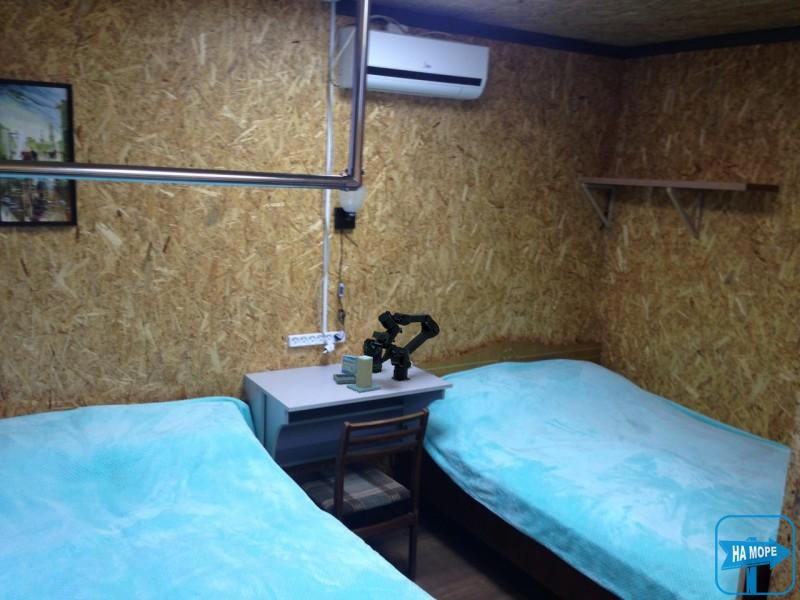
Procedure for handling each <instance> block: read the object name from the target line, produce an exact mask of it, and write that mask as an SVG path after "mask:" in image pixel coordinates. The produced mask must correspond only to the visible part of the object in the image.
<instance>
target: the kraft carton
mask: <svg viewBox="0 0 800 600" xmlns="http://www.w3.org/2000/svg"><path fill="white" fill-rule="evenodd" d="M372 363H373V357H369V356H364V355H360V356H359V357H357V374H356V386H358V387H361V388H367V387H371V386H372V384H373V383H372V382H373V373H372Z"/></svg>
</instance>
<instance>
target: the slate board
mask: <svg viewBox="0 0 800 600" xmlns="http://www.w3.org/2000/svg"><path fill="white" fill-rule="evenodd" d="M346 388H348V389H350V390H351V389H352V390H351V391H354V392H356V391H357V392H356V393H358V392H359V393H358V394H362V393H367V392H372V391H377V390H381V389H382V388H381V386H380V385H377V384H374V383H372V386H371V387H367V388H361V387H358V386H356V384H346ZM361 392H362V393H361Z"/></svg>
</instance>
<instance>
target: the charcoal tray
mask: <svg viewBox="0 0 800 600" xmlns="http://www.w3.org/2000/svg"><path fill="white" fill-rule="evenodd" d="M356 375H357V374H347V373H335V374H332V379H333V378H334V379H333V380H334V381H336V382H335V383H336V384H337V385H352V384H356Z"/></svg>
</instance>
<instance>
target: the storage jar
mask: <svg viewBox="0 0 800 600" xmlns="http://www.w3.org/2000/svg"><path fill="white" fill-rule="evenodd" d="M374 340H375V342H376V343H378V342H377V341H376V339H374ZM362 349H363V351H362V352H363V356H366V353H367V345H366V343H365V340H363V348H362ZM383 352H384V349H382V348H377V349H376V350H375V352H374V354H373V355H372V356H371V357H373V363H372V374H379V372H380V373H382V372H383V363H382V364H380V360H381V358H382V357H383ZM381 371H382V372H381Z"/></svg>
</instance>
